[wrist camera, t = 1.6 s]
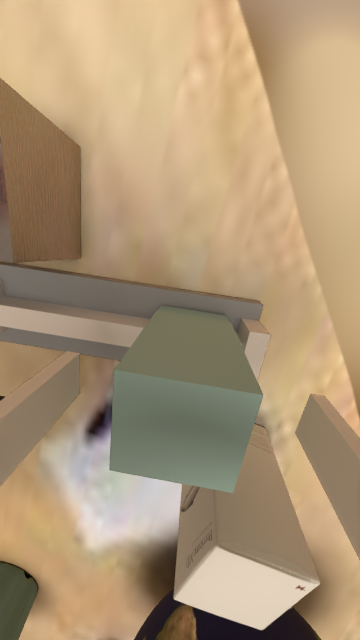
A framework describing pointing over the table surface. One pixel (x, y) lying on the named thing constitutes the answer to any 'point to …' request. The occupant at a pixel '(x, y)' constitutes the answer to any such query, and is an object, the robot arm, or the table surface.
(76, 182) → the grey boxy piece
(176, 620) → the globe
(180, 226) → the table surface
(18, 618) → the flower pot
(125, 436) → the sage green rectangular prism
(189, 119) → the table surface
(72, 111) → the table surface
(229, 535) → the supplement box
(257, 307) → the rail
